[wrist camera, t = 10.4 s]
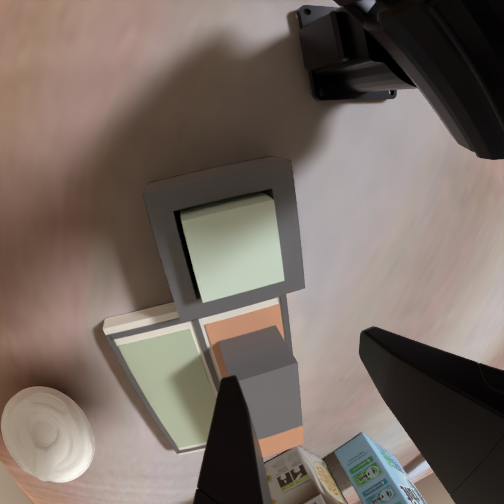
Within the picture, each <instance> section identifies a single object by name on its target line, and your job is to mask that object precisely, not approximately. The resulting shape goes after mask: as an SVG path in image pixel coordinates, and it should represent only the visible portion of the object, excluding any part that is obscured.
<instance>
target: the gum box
mask: <svg viewBox="0 0 504 504" xmlns="http://www.w3.org/2000/svg"><path fill="white" fill-rule="evenodd" d="M334 454H335V455H336V457H337V458H338V460H339V462H340V464H341V466H342V468H343V469H344V471H345V473H346V475H347V477H348V478H349V480H350V482H351V484H352V486H353V487H354V489H355V491H356V493H357V494H358V496H359V498H360V500H361V502H362V503H363V504H427V503H426V501H425V500H424V499H423V497H422V496H421V494H420V493H419V492H418V490H417V488H416V487H415V486H414V484H413V483H412V481H411V480H410V478H409V477H408V475H407V474H406V472H405V471H404V470H403V468H402V467H401V465H400V464H399V462H398V461H397V459H396V458H395V457H394V456H393V455H391V454H390V453H389V452H387V451H386V450H384V449H383V448H382V447H380V446H379V445H378V444H376V443H375V442H374V441H372V440H371V439H370V438H368V437H367V436H366V435H365V434H364V433H360V434H359V435H357V436H356V437H354V438H353V439H351V440H350V441H348V442H347V443H345V444H344V445H342V446H341V447H339V448H338V449H336V450H335V451H334Z"/></svg>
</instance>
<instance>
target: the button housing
mask: <svg viewBox="0 0 504 504" xmlns="http://www.w3.org/2000/svg"><path fill="white" fill-rule="evenodd" d="M258 191H261V192H263V193H264V194H266V195H268V196H269V197H271V198H272V199H274V204H275V211H276V218H277V226H278V233H279V241H280V248H281V256H282V264H283V272H284V280H285V281H282V282H278V283H275V284H271V285H267V286H264V287H260V288H257V289H253V290H249V291H246V292H242V293H239V294H235V295H231V296H227V297H224V298H220V299H216V300H212V301H209V302H205V303H203V302H202V298H201V295H200V291H199V287H198V284H197V280H196V276H195V275H192V276H191V272H190V268H189V264H188V261H187V257H186V253H185V249H184V246H183V242H182V238H181V234H180V230H179V226H178V222H177V218H176V213H175V211H176V210H180V209H184V208H188V207H192V206H196V205H201V204H205V203H209V202H213V201H217V200H222V199H226V198H231V197H235V196H240V195H244V194H249V193H253V192H258ZM143 196H144V200H145V204H146V208H147V212H148V215H149V219H150V223H151V227H152V230H153V234H154V237H155V241H156V245H157V248H158V251H159V255H160V258H161V262H162V265H163V268H164V271H165V275H166V278H167V281H168V284H169V287H170V291H171V294H172V297H173V300H174V303H175V306H176V309H177V312H178V315H179V318H180V321H181V323H182V322H186V321H190V320H194V319H197V318H201V317H205V316H209V315H213V314H216V313H220V312H224V311H228V310H231V309H235V308H238V307H242V306H246V305H249V304H253V303H256V302H260V301H263V300H267V299H270V298H274V297H277V296H281V295H284V294H287V293H291V292H294V291H297V290H301V289H304V288H305V281H304V270H303V259H302V249H301V239H300V229H299V220H298V211H297V202H296V194H295V186H294V178H293V170H292V162H291V161H289V160H285V159H281V158H277V157H273V156H271V157H266V158H260V159H255V160H249V161H244V162H239V163H234V164H229V165H224V166H219V167H215V168H210V169H206V170H201V171H197V172H192V173H188V174H184V175H180V176H175V177H171V178H167V179H163V180H160V181H156V182H152V183H148V184H147V185H146V187H145V190H144V192H143Z"/></svg>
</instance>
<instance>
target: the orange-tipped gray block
mask: <svg viewBox="0 0 504 504" xmlns="http://www.w3.org/2000/svg"><path fill="white" fill-rule="evenodd" d="M218 342H219V346H220V349H221V352H222V356H223V359H224V362H225V366H226V369H227V372H228V376H230V375H234V374H235V375H237V377H238V380H239V383H240V386H241V388H242V391H243V394H244V397H245V399H246V402H247V405H248V408H249V412H250V415H251V418H252V422H253V425H254V428H255V432H256V435H257V438H258V441H259V445H260V448H261V452H262V457H266V456H269V455H272V454H275V453H279V452H282V451H285V450H288V449H291V448H293V447H296V446H299V445H302V444H304V440H303V426H302V412H301V399H300V386H299V374H298V363H297V361H296V359H295V357H294V356H293V354H292V352H291V351H290V349H289V347H288V346H287V344H286V342H285V340H284V339H283V337H282V335H281V334H280V332H279V330H278V328H277V327H276V325H274V326H271V327H267V328H264V329H261V330H257V331H254V332H250V333H247V334H243V335H240V336H236V337H233V338H229V339H225V340H221V341H218Z"/></svg>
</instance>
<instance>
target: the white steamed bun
mask: <svg viewBox="0 0 504 504" xmlns="http://www.w3.org/2000/svg"><path fill="white" fill-rule="evenodd" d="M1 431H2V436H3V440H4V443H5V445H6V447H7V449H8V451H9V453H10V454H11V456H12V457H13V459H14V460H15V461H16V463H17V464H18V465H19V466H20V467H21V468H22V469H23V470H25V471H26V472H27V473H29V474H31V475H34V476H36V477H37V478H38V479H39V480H41V481H49V480H50V481H52V482H55V483H63V482H68V481H71V480H73V479H75V478H77V477H79V476H80V475H81V474H83V473H84V472H85V471H86V470H87V468H88V467H89V465H90V464H91V462H92V459H93V457H94V452H95V437H94V433H93V430H92V427H91V424H90V422H89V420H88V419H87V417H86V415H85V413H84V412H83V411H82V409H81V408H80V407H79V406H78V405H77V404H76V403H75V402H74V401H73V400H72V399H71V398H69V397H68V396H67V395H65V394H63V393H62V392H60V391H58V390H55V389H53V388H49V387H42V386H36V387H29V388H26V389H23V390H21V391H20V392H18V393H17V394H15V395H14V396H13V397H12V398H11V399H10V400H9V401H8V402H7V404H6V406H5V408H4V410H3V413H2V418H1Z"/></svg>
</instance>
